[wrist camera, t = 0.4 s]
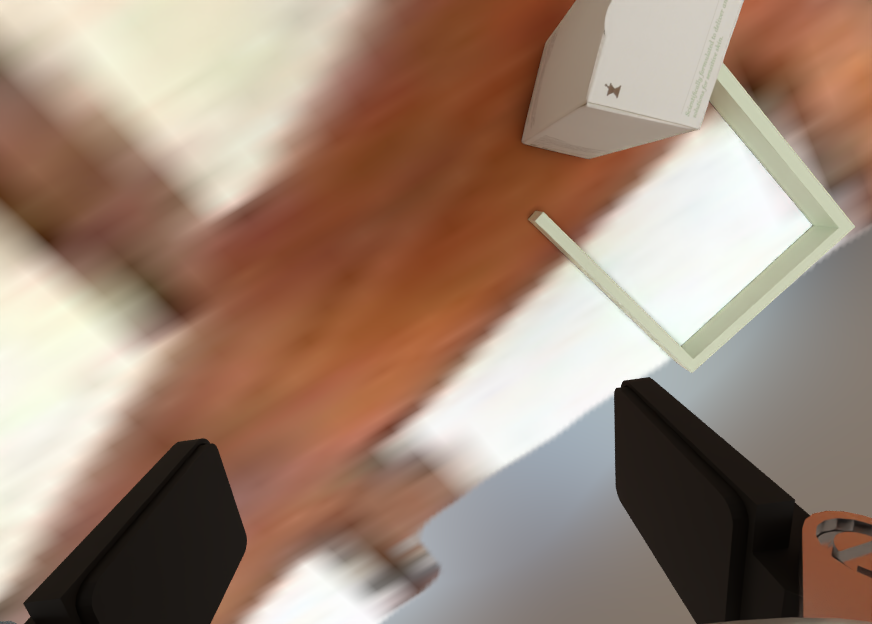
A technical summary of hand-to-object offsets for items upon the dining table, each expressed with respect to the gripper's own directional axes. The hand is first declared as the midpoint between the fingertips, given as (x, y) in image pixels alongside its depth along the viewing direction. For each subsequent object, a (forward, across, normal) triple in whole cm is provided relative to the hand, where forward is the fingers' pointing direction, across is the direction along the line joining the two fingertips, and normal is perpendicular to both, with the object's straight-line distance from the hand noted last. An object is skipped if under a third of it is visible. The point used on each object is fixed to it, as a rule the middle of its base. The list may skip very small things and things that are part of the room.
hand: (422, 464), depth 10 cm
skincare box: (+30, -14, -11) cm, 35 cm away
